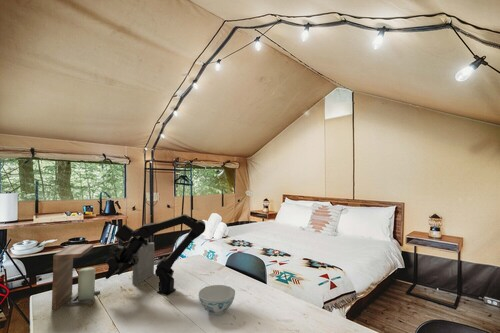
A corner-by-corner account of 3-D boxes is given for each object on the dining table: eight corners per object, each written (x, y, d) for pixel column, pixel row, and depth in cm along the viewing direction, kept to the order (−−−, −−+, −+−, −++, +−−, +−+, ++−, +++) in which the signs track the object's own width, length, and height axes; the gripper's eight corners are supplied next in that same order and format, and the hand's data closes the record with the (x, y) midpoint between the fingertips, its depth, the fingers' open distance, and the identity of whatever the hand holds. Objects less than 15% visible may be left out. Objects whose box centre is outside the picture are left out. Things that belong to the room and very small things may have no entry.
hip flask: (136, 285, 134) (137, 245, 134) (129, 284, 135) (130, 244, 135) (154, 273, 149) (155, 238, 150) (148, 273, 150) (149, 237, 151)
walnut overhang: (101, 290, 127) (103, 243, 128) (90, 306, 111) (91, 253, 112) (68, 293, 124) (69, 245, 124) (51, 310, 108) (53, 255, 109)
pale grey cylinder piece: (96, 299, 118) (96, 270, 118) (79, 304, 114) (80, 273, 114) (92, 294, 123) (93, 266, 123) (76, 299, 118) (76, 269, 119)
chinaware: (192, 309, 110) (192, 290, 110) (222, 299, 119) (223, 282, 119) (209, 326, 98) (209, 304, 98) (242, 313, 107) (242, 294, 108)
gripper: (131, 236, 135) (111, 262, 133) (109, 239, 117) (86, 269, 115) (147, 249, 133) (127, 276, 131) (127, 254, 115) (104, 285, 113)
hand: (112, 276), depth 123 cm, fingers open, 9 cm apart
